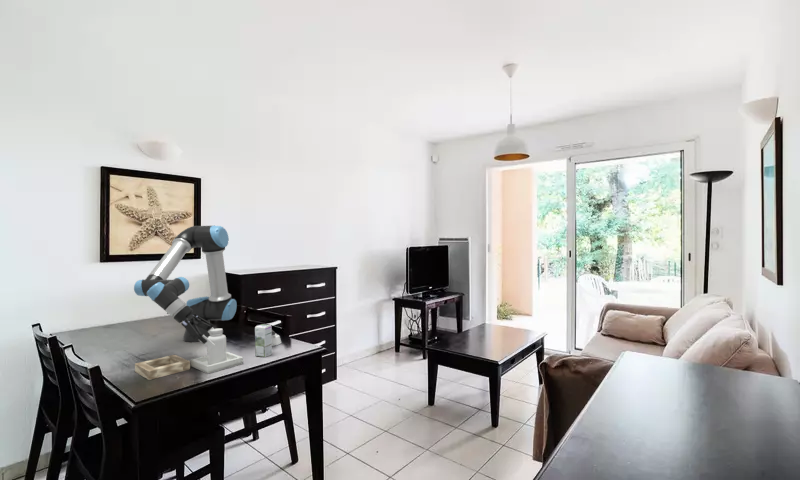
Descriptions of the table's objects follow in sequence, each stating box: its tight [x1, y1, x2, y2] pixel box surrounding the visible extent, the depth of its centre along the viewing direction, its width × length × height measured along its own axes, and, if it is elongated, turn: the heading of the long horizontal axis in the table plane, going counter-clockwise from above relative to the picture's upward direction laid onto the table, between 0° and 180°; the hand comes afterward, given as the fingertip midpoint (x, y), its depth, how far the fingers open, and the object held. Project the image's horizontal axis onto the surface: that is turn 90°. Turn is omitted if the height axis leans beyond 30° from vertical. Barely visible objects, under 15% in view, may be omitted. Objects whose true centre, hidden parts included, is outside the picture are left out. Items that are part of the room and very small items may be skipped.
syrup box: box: [254, 324, 273, 358], centre depth 192 cm, size 6×6×14 cm
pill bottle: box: [206, 328, 228, 365], centre depth 178 cm, size 8×8×15 cm
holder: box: [134, 354, 191, 381], centre depth 171 cm, size 16×16×4 cm
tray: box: [190, 351, 244, 375], centre depth 178 cm, size 16×16×3 cm
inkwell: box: [272, 329, 282, 347], centre depth 208 cm, size 9×18×10 cm, turn 13°
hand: (216, 342), depth 178 cm, fingers open, 13 cm apart
